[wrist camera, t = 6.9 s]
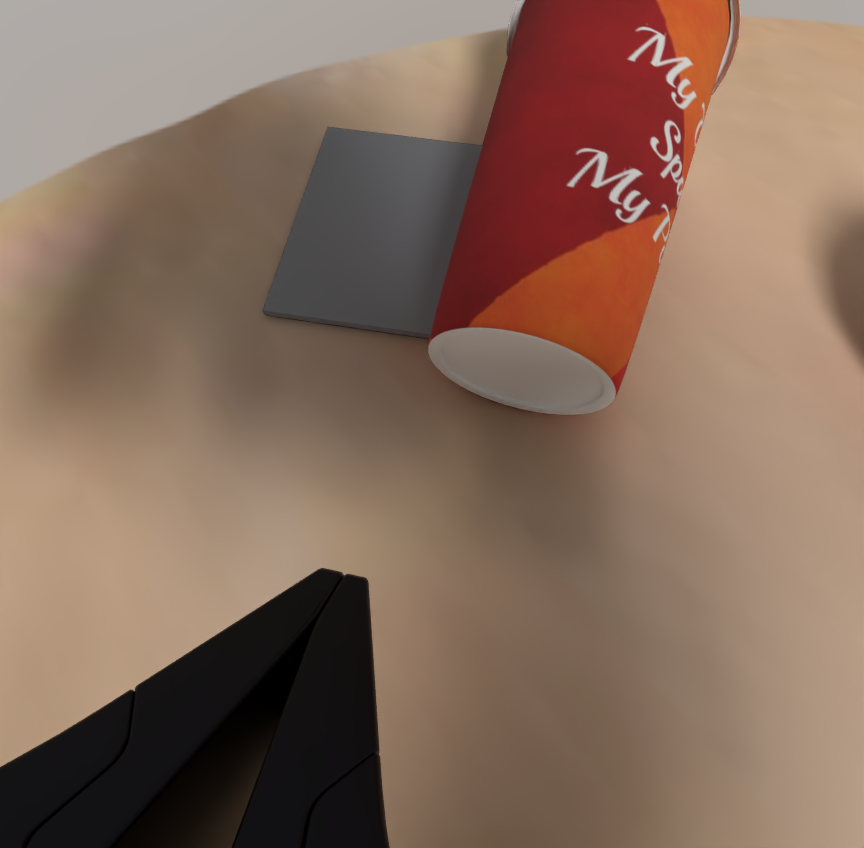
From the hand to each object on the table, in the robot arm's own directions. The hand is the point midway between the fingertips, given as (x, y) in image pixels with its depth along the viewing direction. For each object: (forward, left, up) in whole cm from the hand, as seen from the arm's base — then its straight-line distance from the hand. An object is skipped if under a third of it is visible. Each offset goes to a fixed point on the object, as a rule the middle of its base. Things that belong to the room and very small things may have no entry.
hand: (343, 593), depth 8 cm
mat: (0, -15, -7) cm, 16 cm away
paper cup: (-3, -7, -4) cm, 8 cm away
